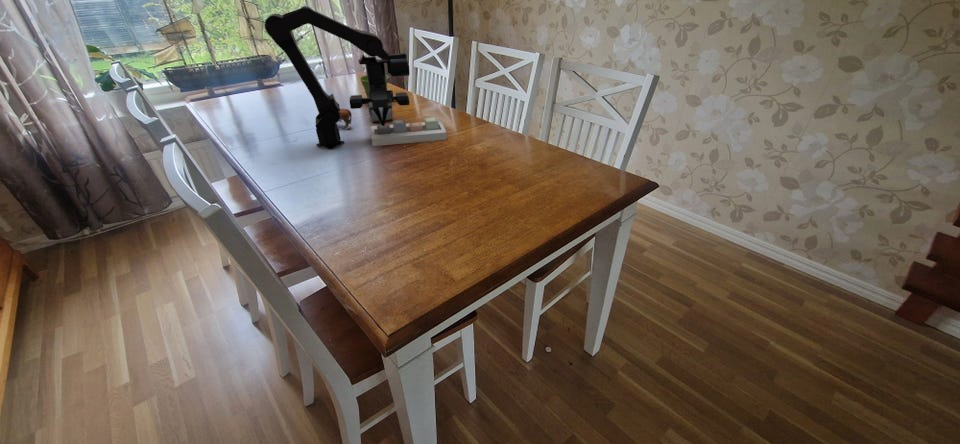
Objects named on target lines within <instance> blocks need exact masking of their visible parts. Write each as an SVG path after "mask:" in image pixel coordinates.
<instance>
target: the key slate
mask: <svg viewBox="0 0 960 444" xmlns="http://www.w3.org/2000/svg"><path fill="white" fill-rule="evenodd" d="M406 124H407V122H406V119H396V120H392V125H393V128H394V133H402V132H407V128H406Z"/></svg>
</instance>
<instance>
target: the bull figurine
mask: <svg viewBox="0 0 960 444" xmlns="http://www.w3.org/2000/svg"><path fill="white" fill-rule="evenodd" d="M339 113H340V119H339V121H338V122H339V123H341V122H342V121H344V123H345V125H344V128H345V131H347V130H349V127H350V125H351V124H352V117H353V116H352V111H351V110H350V109H348V108H340V111H339Z"/></svg>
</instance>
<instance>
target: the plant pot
mask: <svg viewBox="0 0 960 444" xmlns="http://www.w3.org/2000/svg"><path fill="white" fill-rule="evenodd" d="M385 75H386V83H387V84H388V79H389V77H390V76H389V75H388V74H385ZM359 81H361V84H362V86H363V88H364V89H363V90H364V92H365V94H366V98H370V95H369V86H368V79H367V74H366V75H365V74H364V75H363V76H360V77H359Z"/></svg>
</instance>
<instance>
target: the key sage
mask: <svg viewBox="0 0 960 444" xmlns="http://www.w3.org/2000/svg"><path fill="white" fill-rule="evenodd" d="M423 119H424V122H425V128H426V130H439V129H438V121H439V120H438V118H437V117H436V116H435V117H424V118H423Z"/></svg>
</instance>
